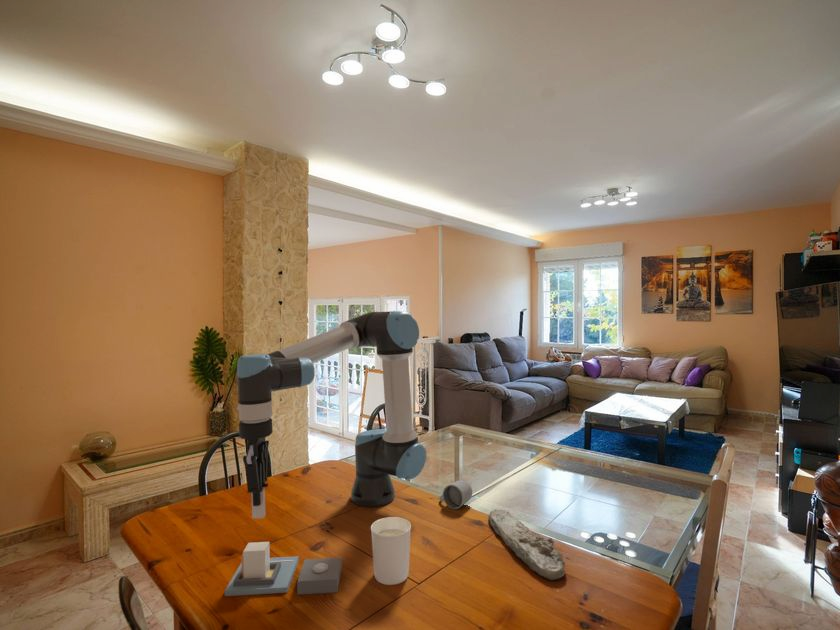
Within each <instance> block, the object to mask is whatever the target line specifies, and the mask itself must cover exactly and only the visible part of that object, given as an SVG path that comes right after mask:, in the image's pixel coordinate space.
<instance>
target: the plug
mask: <svg viewBox="0 0 840 630" xmlns="http://www.w3.org/2000/svg"><path fill="white" fill-rule="evenodd" d="M270 551H271V550H270V541H259V542H247V545H246V546H245V547H244V550H243V551H242V554H241V562H242V576H244V579H250V578H267V575H268V573H269V571H270V558H271V557H270V555H271V553H270Z"/></svg>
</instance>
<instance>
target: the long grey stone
mask: <svg viewBox="0 0 840 630" xmlns="http://www.w3.org/2000/svg"><path fill="white" fill-rule="evenodd" d="M488 522H489V523H490V526H491V527H492V528H493V530H494V532H495V534H497V535H498V537H500V538H501V540H502V541H503V542H504V544H505V546H506V547H509V548H510V549H511V550H512V551H513V553H515V556H517V557H518V558H519V559H520V560H521V561H523V562H524V564H526V565H527V566H528V567H529V569H530V570H531V571H532V572H535V573H537V574H538V576H541V577H543V578H545V579H548V580H550V581H554V580H559V579H561V578H563V577H564V575H565V572H566V571H565V566H566V562H565V559H564V558H563V555H562V553H560V552H559V550H557V548H556V546H555V545H554V544H555V541H554V540H553V538H551V537H547V536H540V535H539V534H534V532H532V530H530V529H529V528H528V526H526V525H525V524H524V523H523V522H521V521H519V519H518V518H517V517H515V516H514V515H512V514H511V513H510V512H509V511H506V510H505V509H494V510H491V511H490V513H489V514H488Z"/></svg>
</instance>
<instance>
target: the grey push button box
mask: <svg viewBox="0 0 840 630" xmlns="http://www.w3.org/2000/svg"><path fill="white" fill-rule="evenodd" d="M341 573H342V557H327V558H324V557H323V558H308V559H307V558H306V559H304V560H303V564H302V565H301V570H300V572H299V575H298V579H297V582H296V584H297V585H296V588H297V593H296V594H297V595H313V594H315V595H316V594H328V593H332V594H333V593H338V592H339V584H340V580H341Z"/></svg>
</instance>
